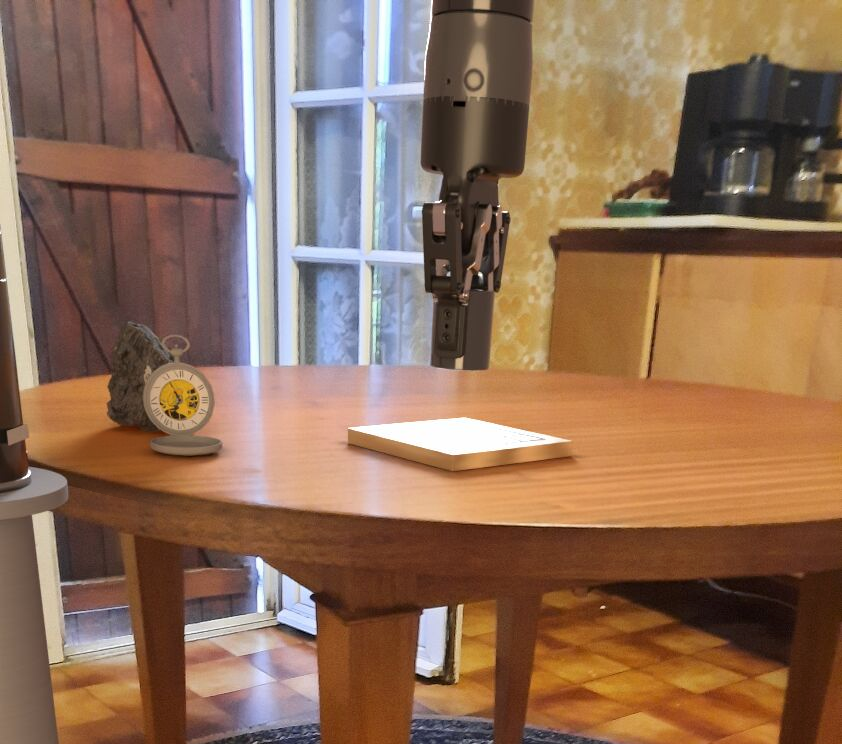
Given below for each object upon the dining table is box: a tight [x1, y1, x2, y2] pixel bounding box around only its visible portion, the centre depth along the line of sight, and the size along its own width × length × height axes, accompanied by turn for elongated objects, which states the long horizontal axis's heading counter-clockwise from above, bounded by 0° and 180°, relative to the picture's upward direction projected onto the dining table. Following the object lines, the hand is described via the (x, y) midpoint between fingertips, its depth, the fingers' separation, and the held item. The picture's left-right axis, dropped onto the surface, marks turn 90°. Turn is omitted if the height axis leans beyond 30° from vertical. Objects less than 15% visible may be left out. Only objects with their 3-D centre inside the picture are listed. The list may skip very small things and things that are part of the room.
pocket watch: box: [143, 334, 223, 457], centre depth 99 cm, size 8×8×10 cm
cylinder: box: [429, 289, 496, 372], centre depth 82 cm, size 5×5×6 cm
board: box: [347, 417, 574, 472], centre depth 107 cm, size 16×16×2 cm
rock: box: [106, 320, 198, 432], centre depth 111 cm, size 12×10×10 cm
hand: (460, 354), depth 82 cm, fingers closed on cylinder, 4 cm apart
